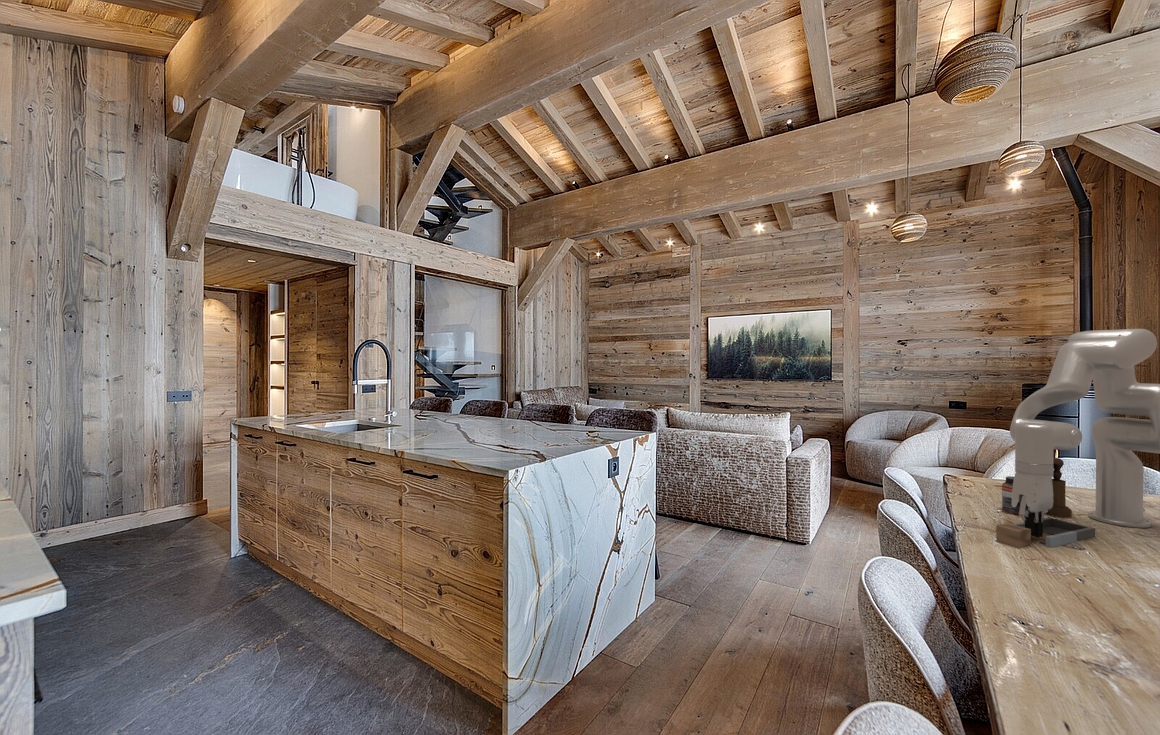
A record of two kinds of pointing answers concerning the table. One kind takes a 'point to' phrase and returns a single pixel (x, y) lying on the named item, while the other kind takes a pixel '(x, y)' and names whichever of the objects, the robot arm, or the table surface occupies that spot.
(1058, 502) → the pepper mill
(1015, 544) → the walnut block
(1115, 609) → the table surface
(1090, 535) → the grey u-shaped bracket
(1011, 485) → the supplement bottle
